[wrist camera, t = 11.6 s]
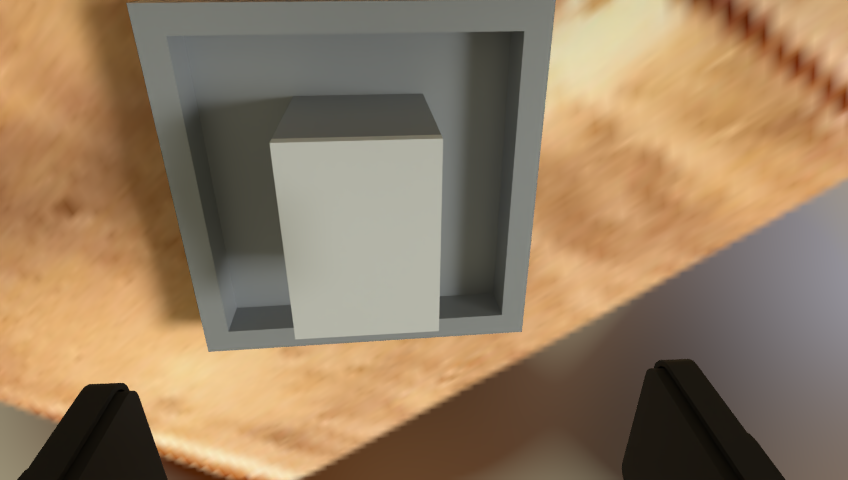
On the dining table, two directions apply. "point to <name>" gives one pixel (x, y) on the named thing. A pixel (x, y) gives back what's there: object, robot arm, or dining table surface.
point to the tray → (345, 75)
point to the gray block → (360, 213)
